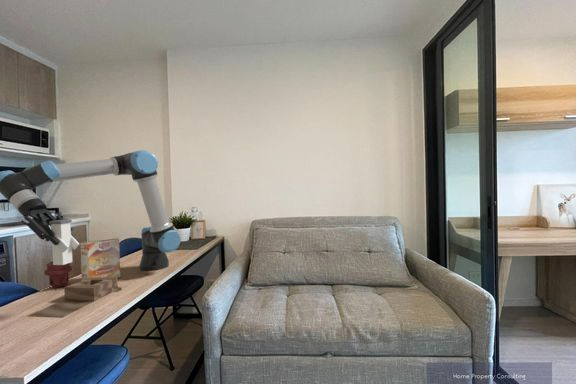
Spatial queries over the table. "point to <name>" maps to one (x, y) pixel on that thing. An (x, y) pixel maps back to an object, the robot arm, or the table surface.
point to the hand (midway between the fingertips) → (71, 248)
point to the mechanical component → (58, 274)
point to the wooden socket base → (80, 296)
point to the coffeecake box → (100, 258)
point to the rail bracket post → (64, 233)
